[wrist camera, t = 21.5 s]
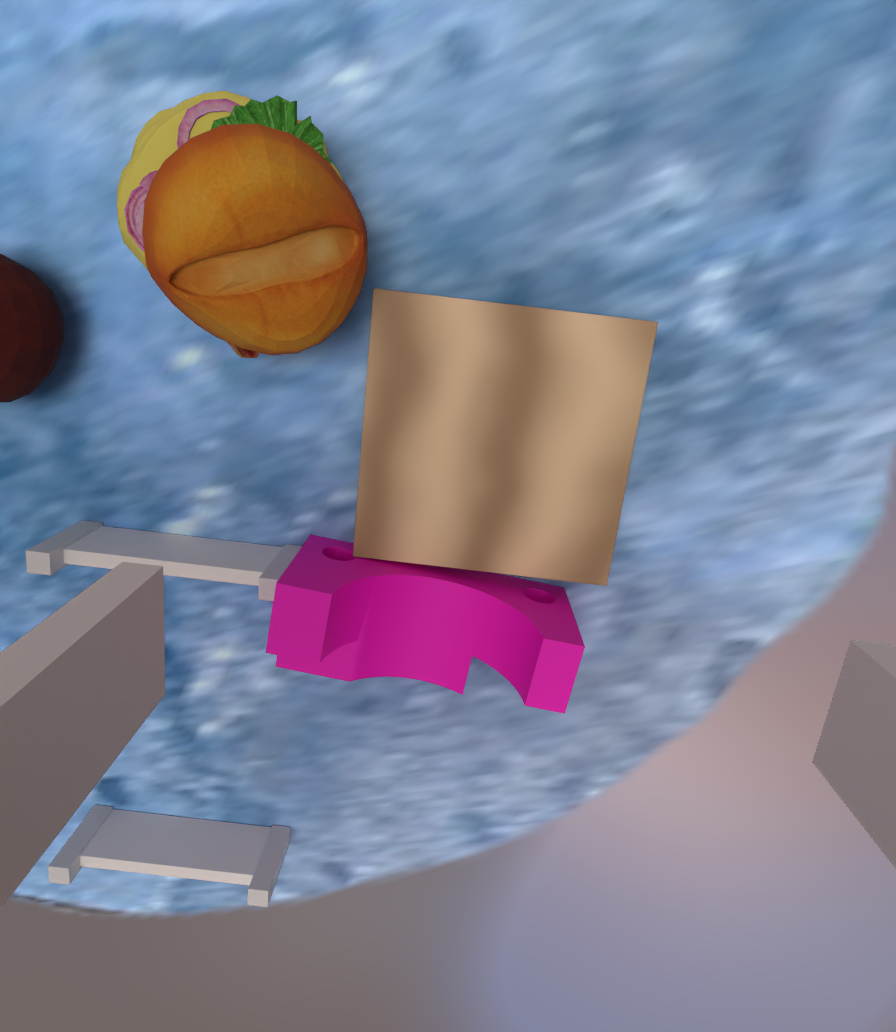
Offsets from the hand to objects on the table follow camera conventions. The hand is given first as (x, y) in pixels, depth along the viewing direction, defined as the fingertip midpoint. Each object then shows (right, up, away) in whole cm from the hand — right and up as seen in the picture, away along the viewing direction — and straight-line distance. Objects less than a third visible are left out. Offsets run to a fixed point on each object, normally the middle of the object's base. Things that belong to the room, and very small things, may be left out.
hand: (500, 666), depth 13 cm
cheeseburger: (-11, +18, +21) cm, 30 cm away
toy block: (-2, -3, +27) cm, 28 cm away
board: (+2, +7, +24) cm, 25 cm away
